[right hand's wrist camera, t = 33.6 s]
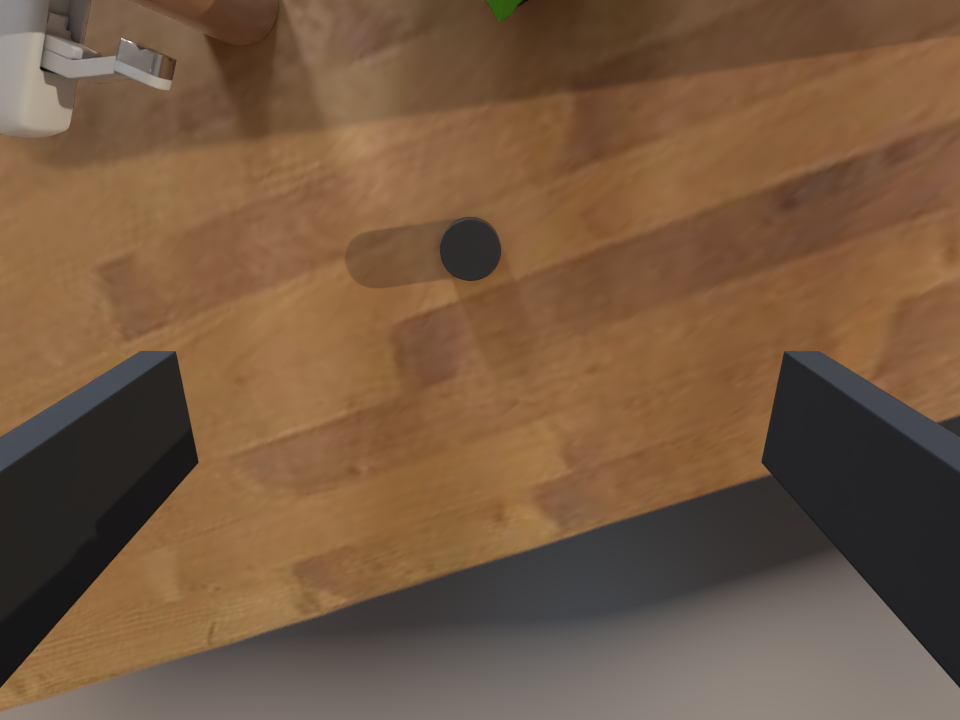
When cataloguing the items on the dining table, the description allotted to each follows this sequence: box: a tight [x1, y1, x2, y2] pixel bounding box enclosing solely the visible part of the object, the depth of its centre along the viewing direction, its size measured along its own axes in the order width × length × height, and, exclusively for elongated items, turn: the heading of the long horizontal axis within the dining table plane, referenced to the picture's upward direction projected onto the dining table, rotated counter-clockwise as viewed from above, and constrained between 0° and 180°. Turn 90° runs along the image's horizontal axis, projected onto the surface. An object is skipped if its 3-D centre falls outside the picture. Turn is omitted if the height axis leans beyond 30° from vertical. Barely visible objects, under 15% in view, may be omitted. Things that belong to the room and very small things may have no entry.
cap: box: [440, 217, 501, 281], centre depth 35 cm, size 4×4×2 cm
